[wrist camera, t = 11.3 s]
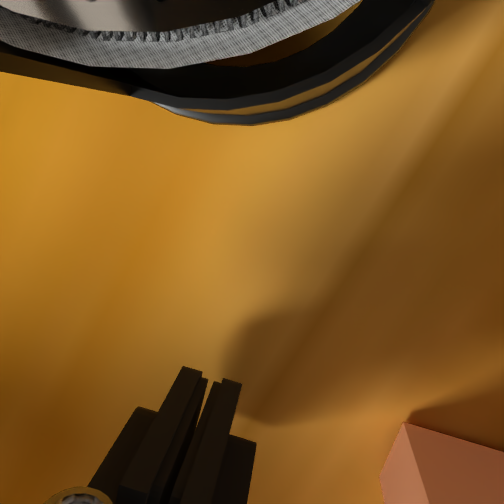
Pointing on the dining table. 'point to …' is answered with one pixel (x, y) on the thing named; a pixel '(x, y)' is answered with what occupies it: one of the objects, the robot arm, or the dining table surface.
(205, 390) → the robot arm
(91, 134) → the dining table surface
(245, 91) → the french press
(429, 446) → the tab
